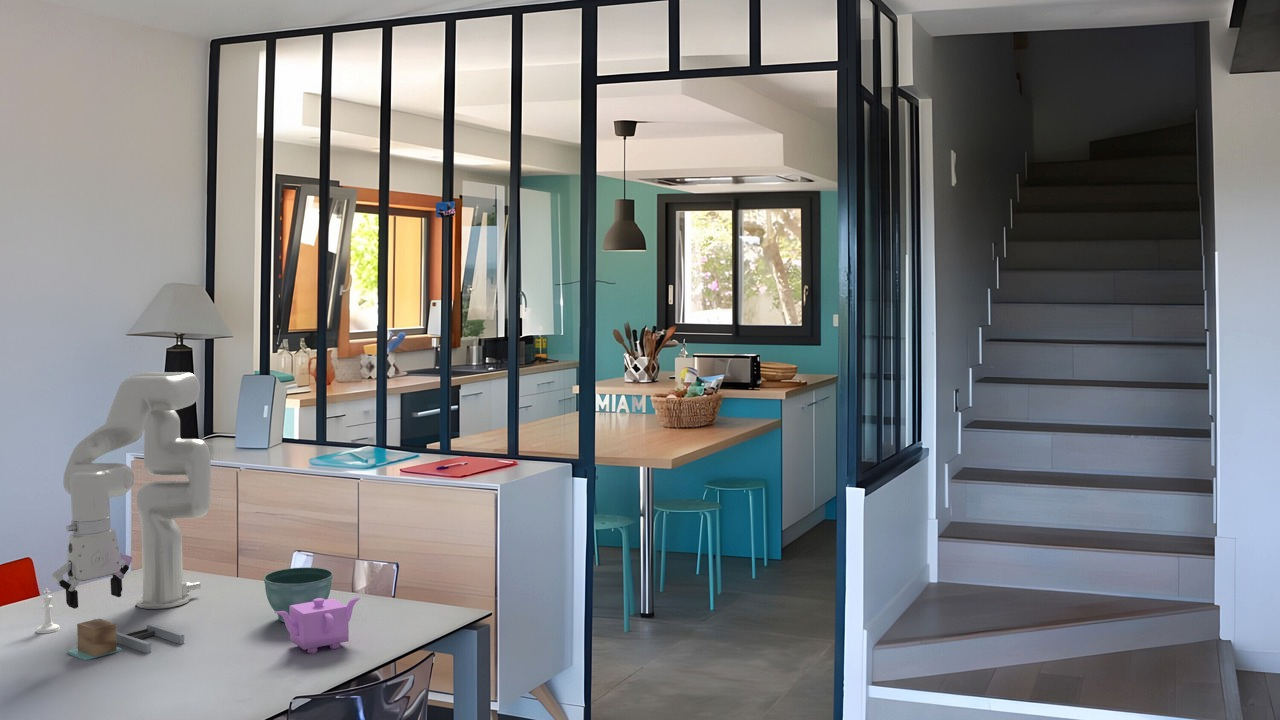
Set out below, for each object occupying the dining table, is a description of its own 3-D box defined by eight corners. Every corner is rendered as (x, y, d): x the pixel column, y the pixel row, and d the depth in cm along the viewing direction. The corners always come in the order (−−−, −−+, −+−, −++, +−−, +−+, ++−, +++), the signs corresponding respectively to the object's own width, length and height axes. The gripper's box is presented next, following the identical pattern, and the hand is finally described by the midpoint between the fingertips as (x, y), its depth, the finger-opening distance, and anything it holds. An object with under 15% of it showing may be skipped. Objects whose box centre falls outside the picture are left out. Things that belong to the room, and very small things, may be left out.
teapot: (330, 659, 236) (329, 609, 235) (274, 655, 238) (273, 606, 238) (362, 638, 251) (361, 592, 250) (309, 634, 253) (308, 588, 253)
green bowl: (347, 614, 270) (346, 571, 270) (301, 631, 256) (300, 586, 255) (297, 606, 277) (296, 564, 276) (249, 623, 262) (249, 579, 262)
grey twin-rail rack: (150, 632, 255) (150, 623, 255) (184, 642, 247) (184, 634, 247) (113, 641, 248) (113, 632, 248) (146, 653, 240) (146, 644, 239)
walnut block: (100, 644, 244) (99, 618, 243) (116, 650, 239) (115, 623, 239) (77, 650, 239) (77, 623, 239) (94, 656, 235) (93, 629, 235)
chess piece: (49, 634, 253) (48, 591, 253) (31, 632, 254) (30, 590, 254) (64, 627, 258) (63, 586, 258) (46, 626, 259) (45, 585, 259)
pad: (102, 644, 246) (102, 641, 246) (121, 651, 241) (121, 648, 241) (66, 653, 239) (66, 650, 239) (85, 660, 235) (85, 657, 235)
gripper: (60, 536, 230) (64, 615, 231) (138, 520, 244) (141, 594, 245) (42, 531, 234) (46, 608, 236) (120, 516, 248) (123, 588, 250)
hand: (95, 601), depth 241 cm, fingers open, 9 cm apart
